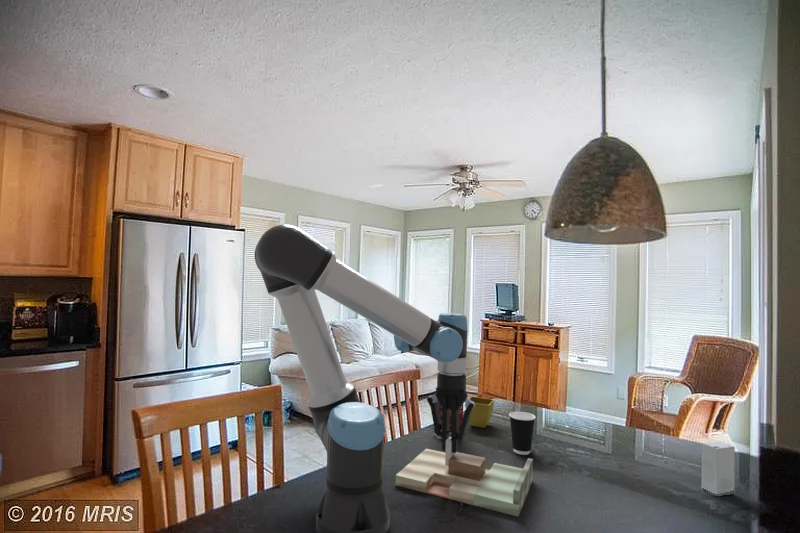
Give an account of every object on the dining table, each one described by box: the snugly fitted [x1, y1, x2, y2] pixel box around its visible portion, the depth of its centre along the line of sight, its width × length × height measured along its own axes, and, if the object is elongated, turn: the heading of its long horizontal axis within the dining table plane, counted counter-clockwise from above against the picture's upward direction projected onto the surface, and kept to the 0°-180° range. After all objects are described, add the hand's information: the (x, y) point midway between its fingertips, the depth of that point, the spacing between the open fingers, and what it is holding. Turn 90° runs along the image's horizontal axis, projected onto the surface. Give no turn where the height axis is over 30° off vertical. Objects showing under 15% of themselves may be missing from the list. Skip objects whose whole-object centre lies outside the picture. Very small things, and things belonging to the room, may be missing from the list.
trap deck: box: [395, 448, 534, 517], centre depth 109 cm, size 20×30×6 cm, turn 64°
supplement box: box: [433, 386, 464, 440], centre depth 143 cm, size 9×5×16 cm, turn 105°
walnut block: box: [448, 451, 487, 481], centre depth 109 cm, size 6×8×4 cm
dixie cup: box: [508, 411, 537, 456], centre depth 132 cm, size 8×8×11 cm
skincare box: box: [701, 441, 736, 494], centre depth 108 cm, size 6×4×12 cm
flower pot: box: [468, 396, 495, 429], centre depth 156 cm, size 9×9×9 cm
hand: (449, 464), depth 111 cm, fingers closed
